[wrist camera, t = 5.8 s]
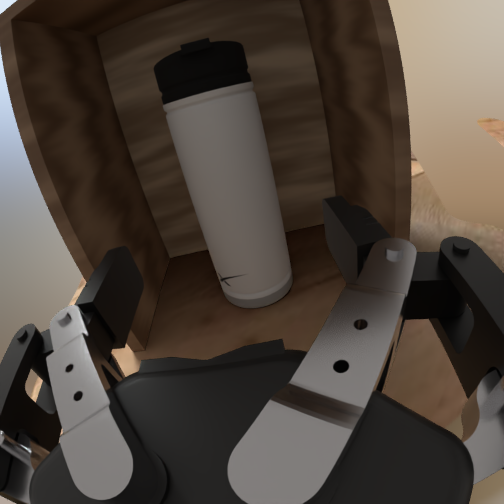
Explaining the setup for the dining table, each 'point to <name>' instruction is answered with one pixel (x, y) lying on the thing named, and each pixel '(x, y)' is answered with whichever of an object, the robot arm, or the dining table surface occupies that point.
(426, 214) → the dining table surface
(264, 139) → the travel mug
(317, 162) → the cubby
